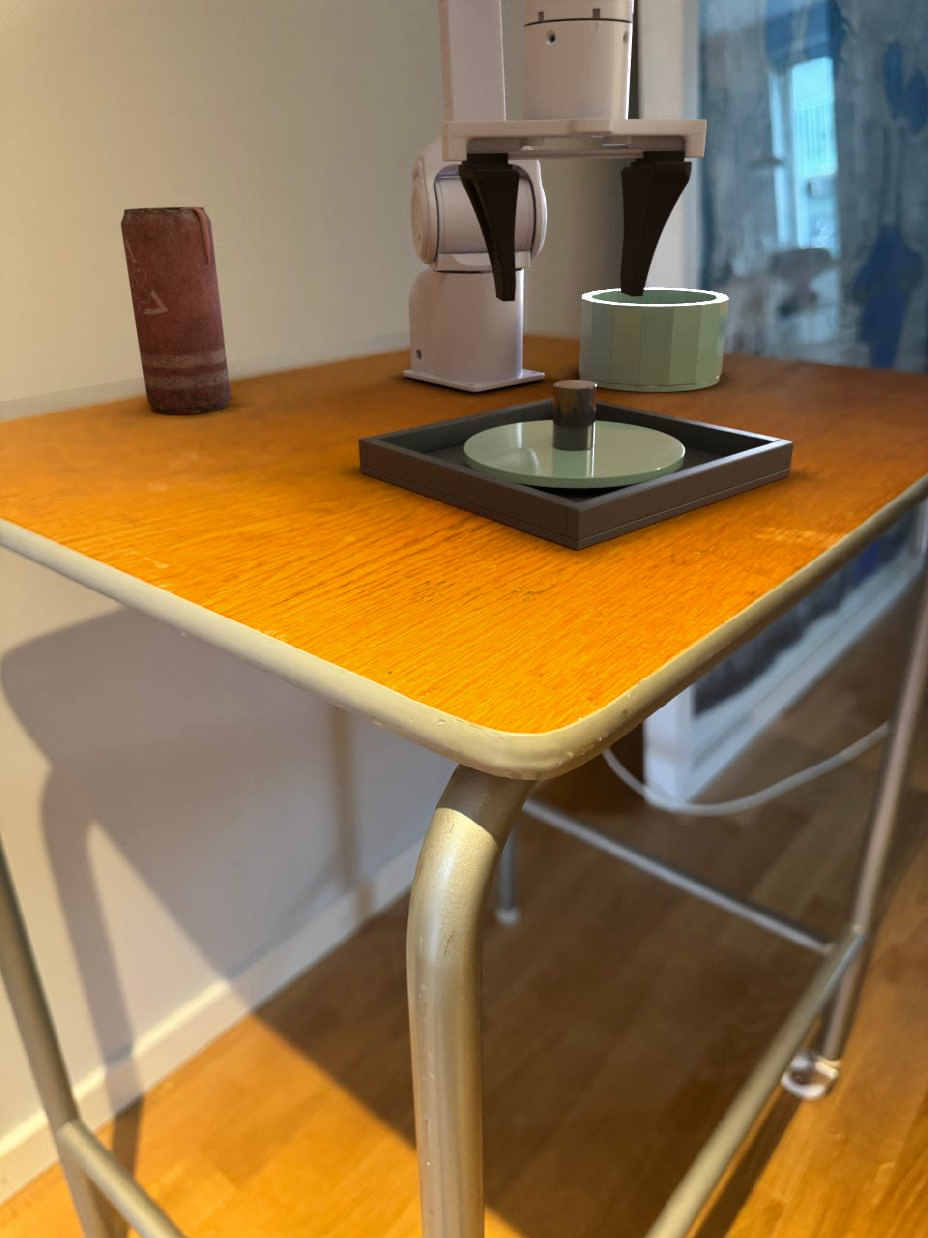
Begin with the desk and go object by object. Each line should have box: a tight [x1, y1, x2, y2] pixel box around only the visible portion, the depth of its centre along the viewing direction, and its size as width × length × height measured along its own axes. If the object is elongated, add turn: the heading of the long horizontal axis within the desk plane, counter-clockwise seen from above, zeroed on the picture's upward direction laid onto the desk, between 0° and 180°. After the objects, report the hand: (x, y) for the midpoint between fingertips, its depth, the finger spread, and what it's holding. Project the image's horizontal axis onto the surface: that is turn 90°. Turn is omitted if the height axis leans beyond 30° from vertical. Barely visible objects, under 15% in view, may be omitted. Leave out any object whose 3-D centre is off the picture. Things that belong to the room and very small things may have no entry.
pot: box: [578, 287, 730, 393], centre depth 81 cm, size 12×12×6 cm
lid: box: [463, 379, 685, 488], centre depth 56 cm, size 13×13×5 cm
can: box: [120, 206, 232, 416], centre depth 71 cm, size 6×6×14 cm
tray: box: [357, 397, 794, 551], centre depth 56 cm, size 18×18×2 cm
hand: (569, 296), depth 57 cm, fingers open, 7 cm apart
